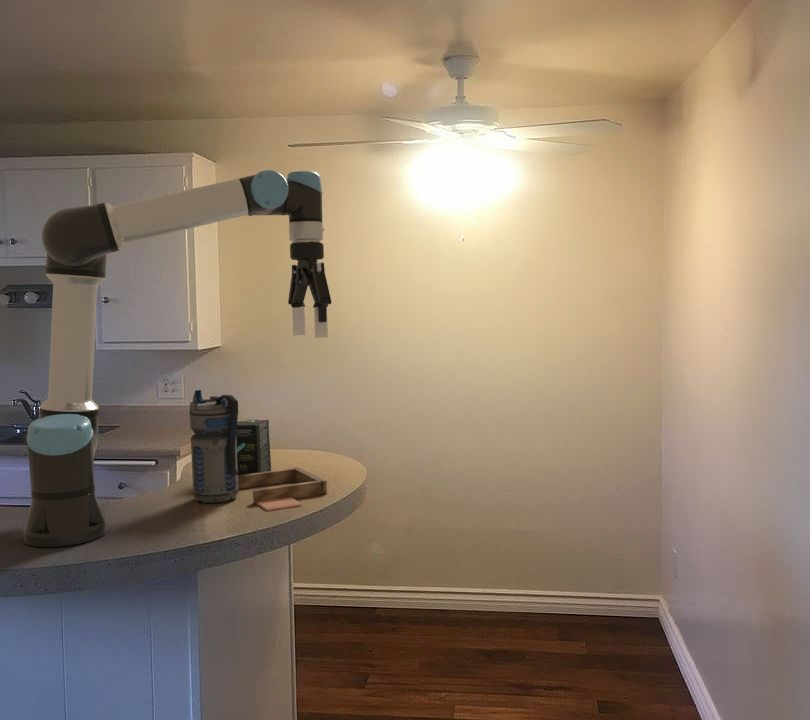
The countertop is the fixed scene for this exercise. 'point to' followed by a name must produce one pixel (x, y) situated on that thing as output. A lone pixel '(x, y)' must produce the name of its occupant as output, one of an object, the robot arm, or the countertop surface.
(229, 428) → the beverage bottle
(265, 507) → the tile
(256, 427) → the tampon box
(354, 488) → the countertop surface
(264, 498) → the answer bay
